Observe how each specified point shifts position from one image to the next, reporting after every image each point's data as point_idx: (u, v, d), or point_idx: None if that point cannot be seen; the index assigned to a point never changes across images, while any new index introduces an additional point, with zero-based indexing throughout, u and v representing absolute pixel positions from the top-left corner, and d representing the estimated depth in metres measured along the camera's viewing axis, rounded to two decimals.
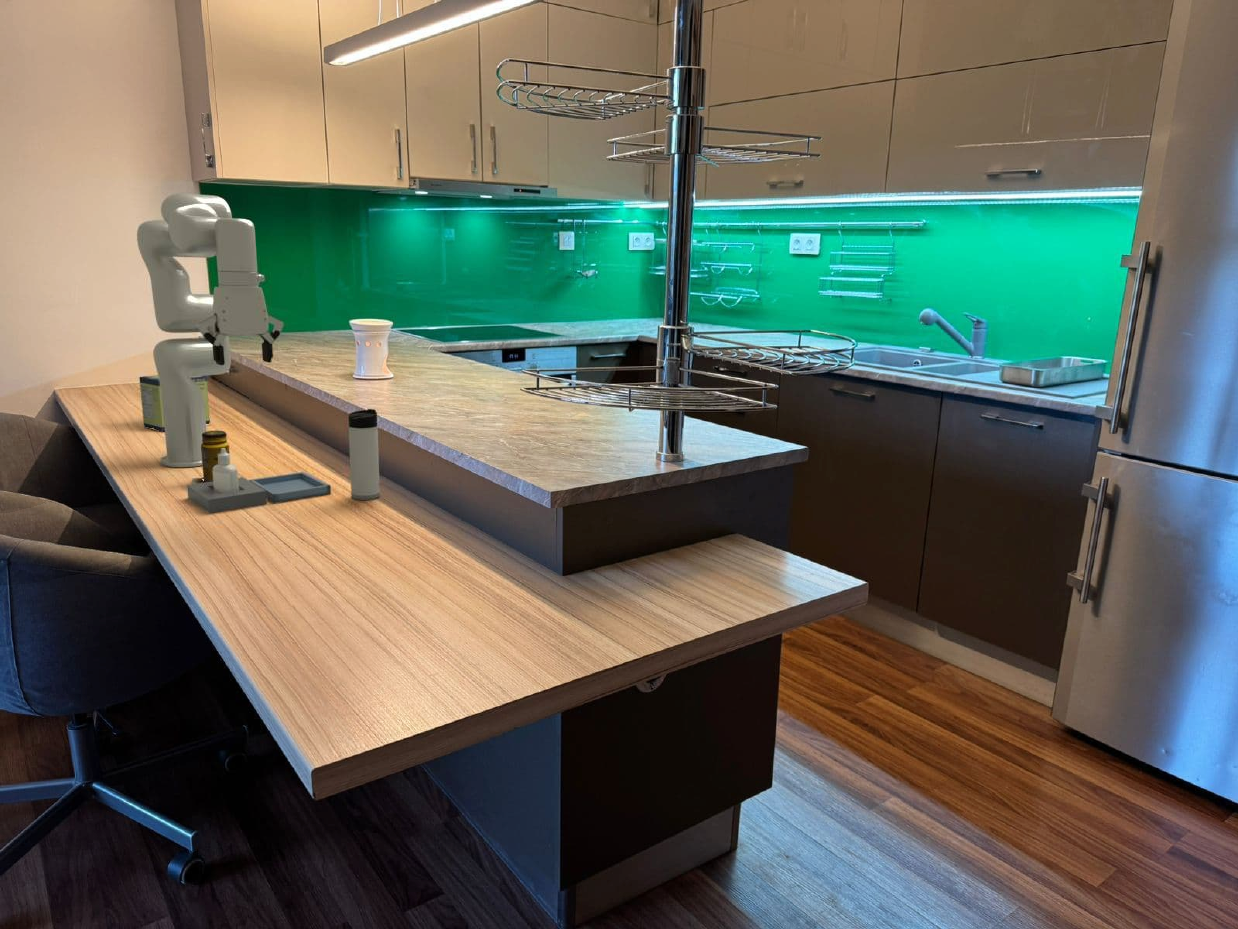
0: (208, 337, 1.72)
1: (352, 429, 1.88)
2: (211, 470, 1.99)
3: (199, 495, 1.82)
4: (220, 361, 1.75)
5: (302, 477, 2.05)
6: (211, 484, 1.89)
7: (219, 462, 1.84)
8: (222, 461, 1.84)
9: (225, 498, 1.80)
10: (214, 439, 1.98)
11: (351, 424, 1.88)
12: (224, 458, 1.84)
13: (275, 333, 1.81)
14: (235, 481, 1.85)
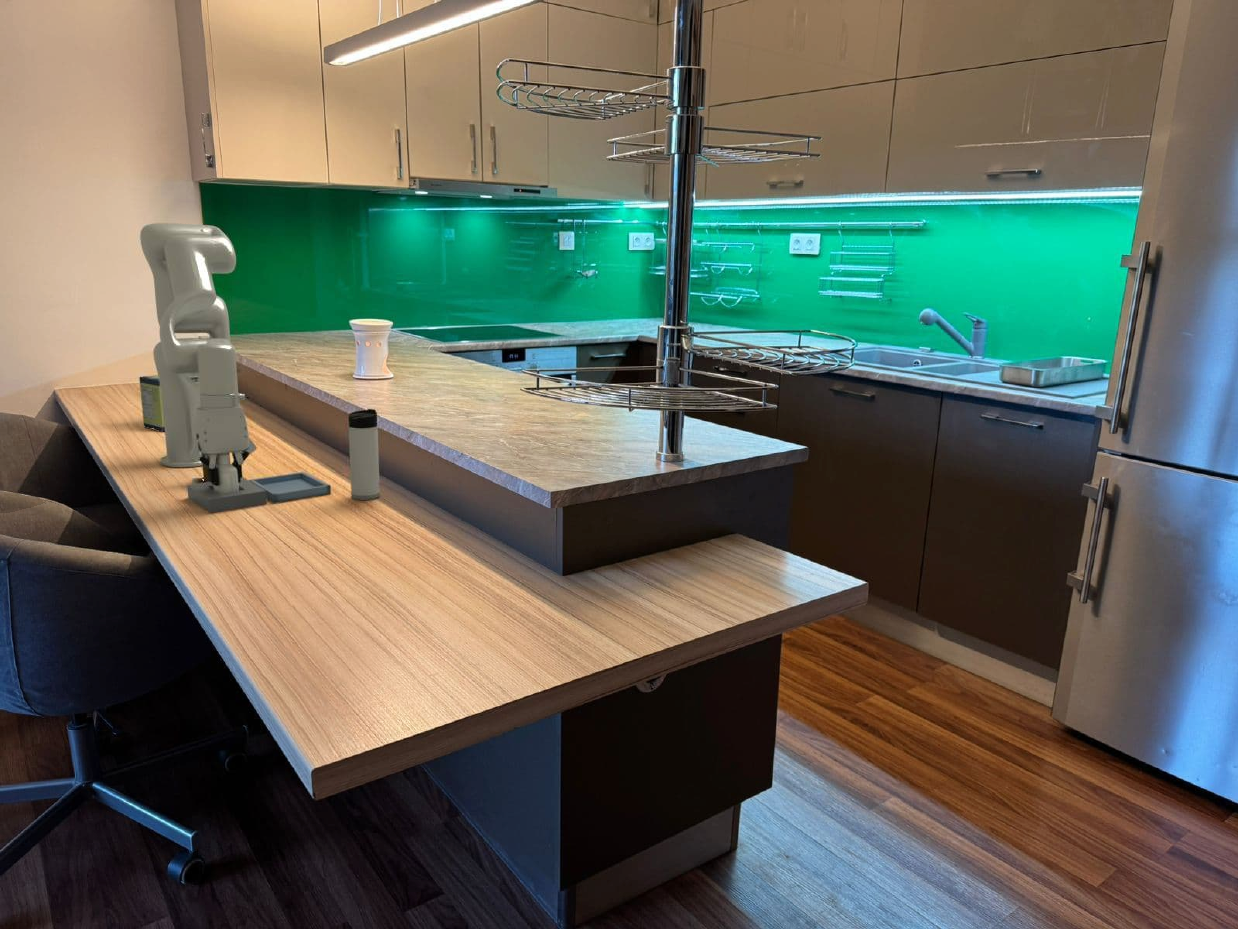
0: (203, 461, 1.81)
1: (352, 429, 1.88)
2: None
3: (199, 495, 1.82)
4: (215, 482, 1.84)
5: (302, 477, 2.05)
6: (211, 484, 1.89)
7: (219, 462, 1.84)
8: (222, 461, 1.84)
9: (225, 498, 1.80)
10: None
11: (351, 424, 1.88)
12: (224, 458, 1.84)
13: (244, 454, 1.87)
14: (235, 481, 1.85)
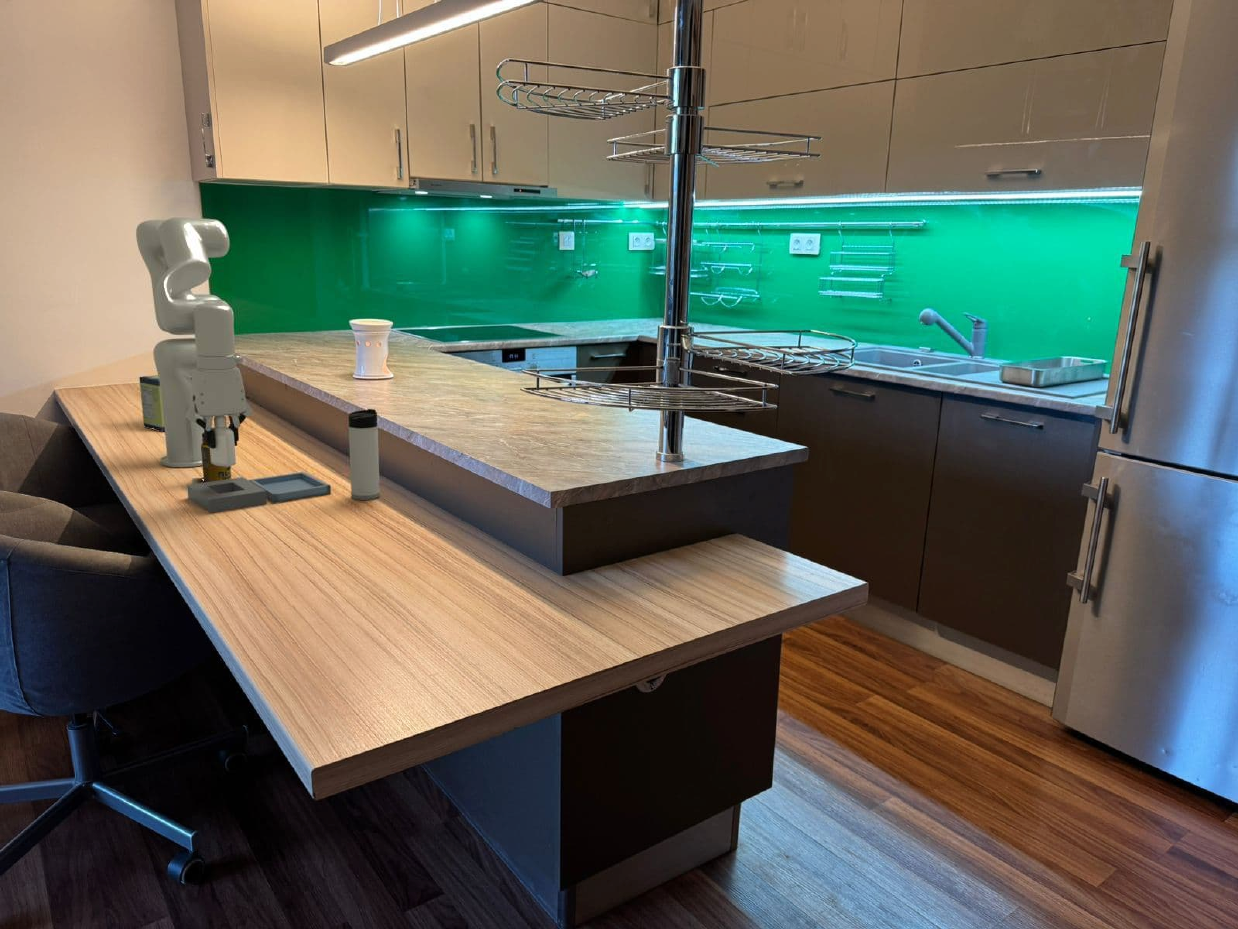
0: (200, 423, 1.80)
1: (352, 429, 1.88)
2: (211, 470, 1.99)
3: (199, 495, 1.82)
4: (211, 445, 1.82)
5: (302, 477, 2.05)
6: (211, 484, 1.89)
7: (215, 425, 1.83)
8: (218, 424, 1.82)
9: (225, 498, 1.80)
10: None
11: (351, 424, 1.88)
12: (220, 421, 1.82)
13: (241, 417, 1.85)
14: (231, 444, 1.84)
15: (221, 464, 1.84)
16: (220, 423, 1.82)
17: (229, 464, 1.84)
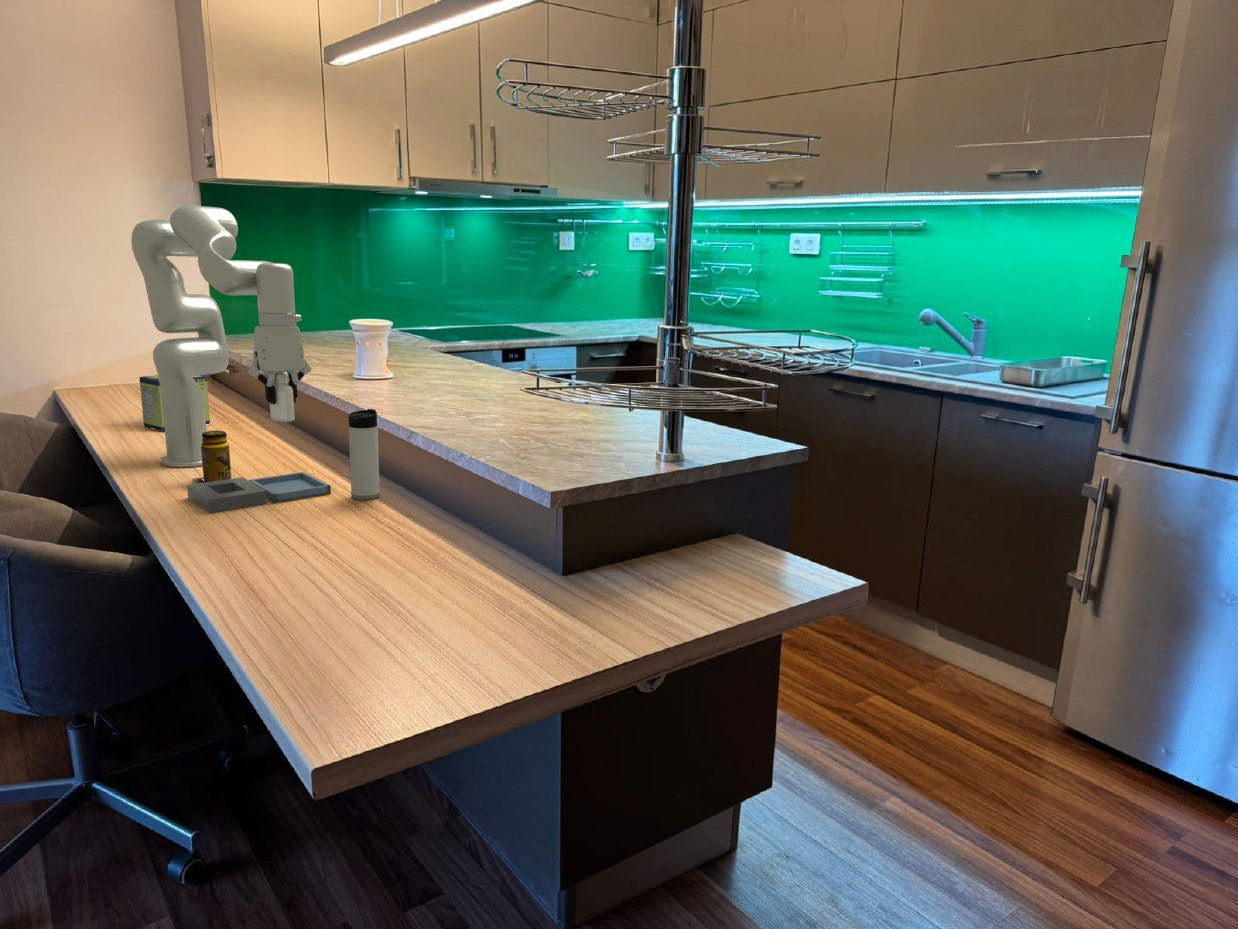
0: (261, 379, 1.86)
1: (352, 429, 1.88)
2: (211, 470, 1.99)
3: (199, 495, 1.82)
4: (272, 400, 1.89)
5: (302, 477, 2.05)
6: (211, 484, 1.89)
7: (275, 381, 1.89)
8: (278, 380, 1.89)
9: (225, 498, 1.80)
10: (214, 439, 1.98)
11: (351, 424, 1.88)
12: (281, 377, 1.89)
13: (299, 374, 1.92)
14: (290, 400, 1.90)
15: (281, 419, 1.90)
16: (280, 379, 1.89)
17: (288, 419, 1.90)
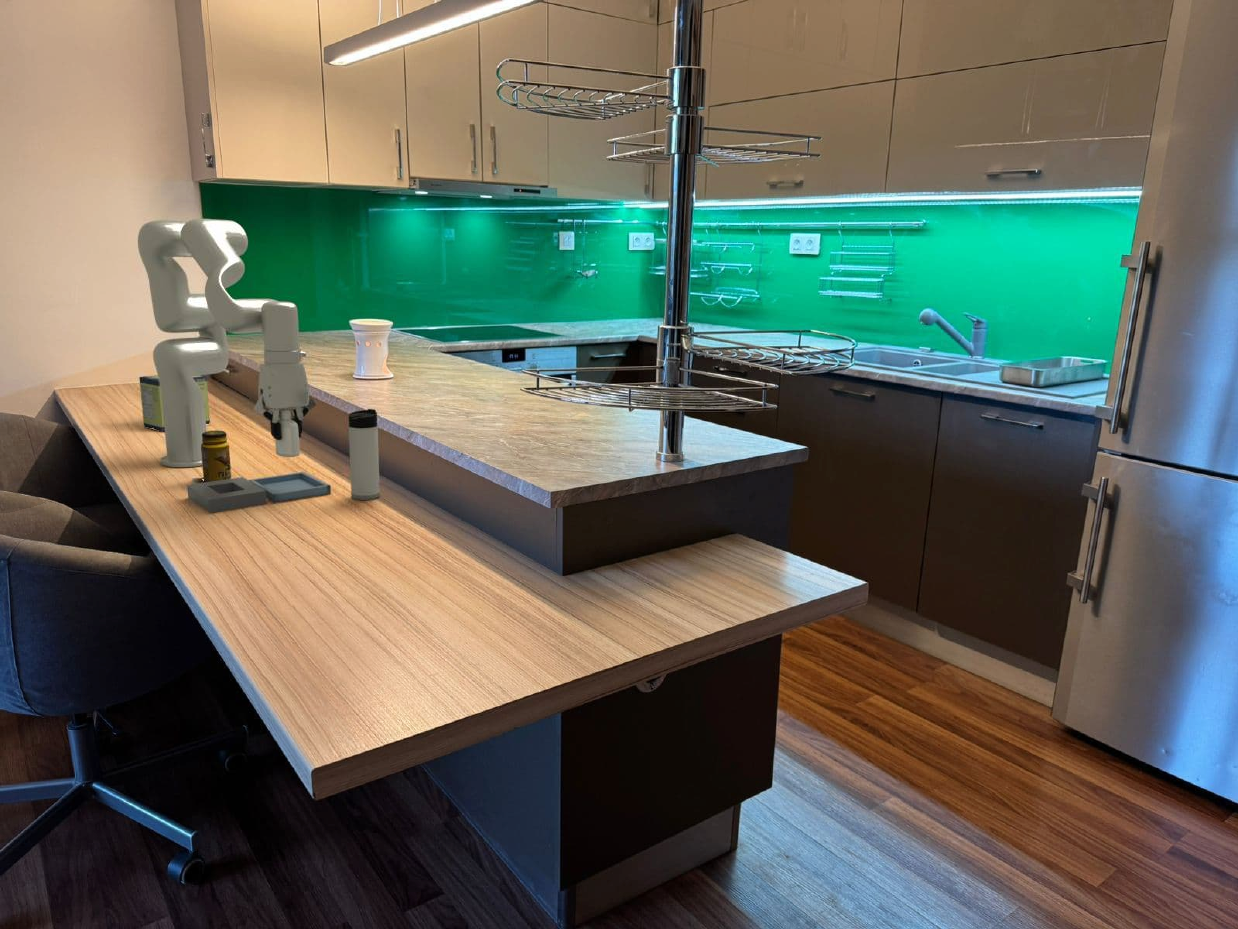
0: (267, 415, 1.89)
1: (352, 429, 1.88)
2: (211, 470, 1.99)
3: (199, 495, 1.82)
4: (277, 436, 1.91)
5: (302, 477, 2.05)
6: (211, 484, 1.89)
7: (281, 417, 1.91)
8: (283, 416, 1.91)
9: (225, 498, 1.80)
10: (214, 439, 1.98)
11: (351, 424, 1.88)
12: (286, 413, 1.91)
13: (304, 410, 1.94)
14: (296, 435, 1.92)
15: (286, 455, 1.93)
16: (285, 415, 1.91)
17: (294, 455, 1.93)
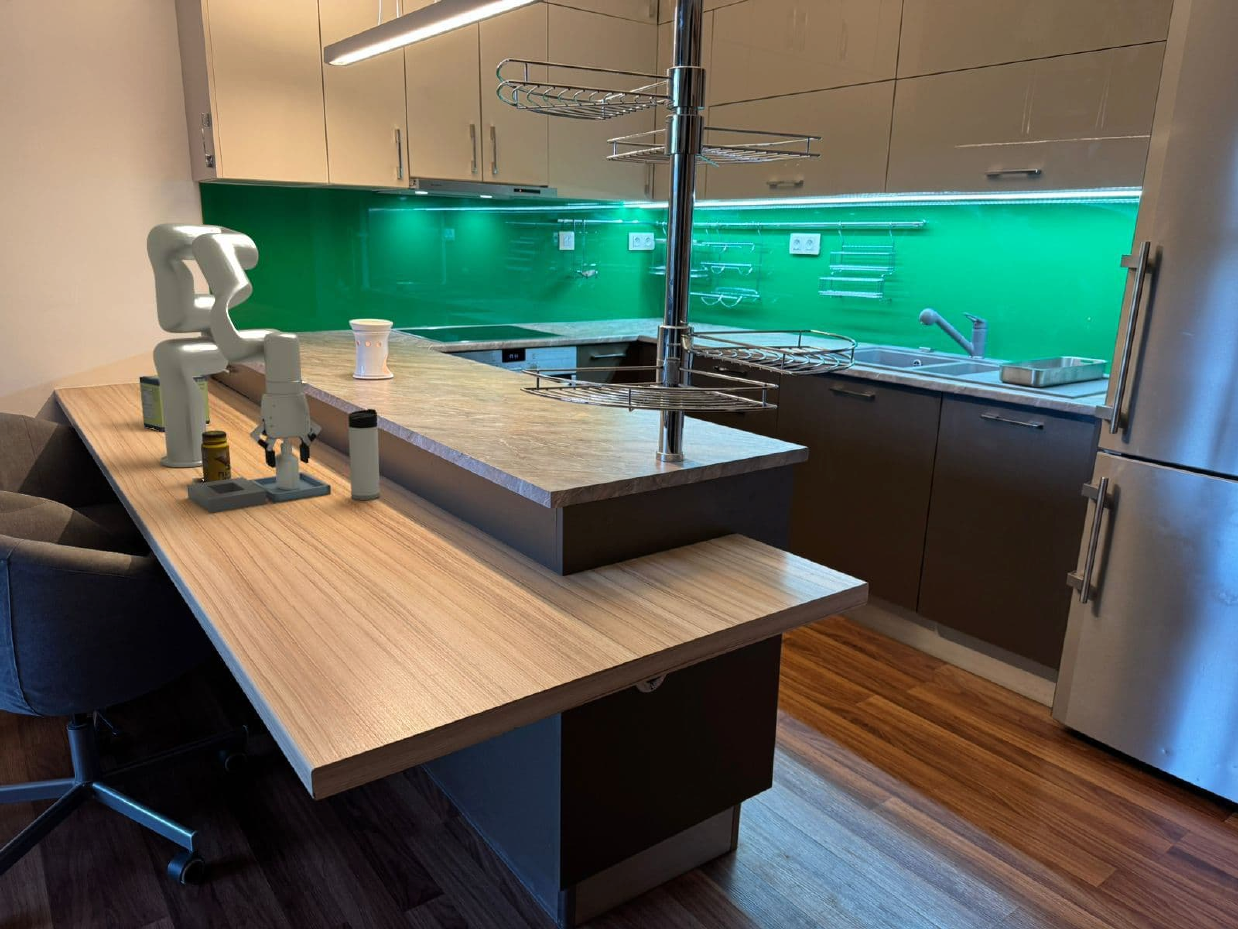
0: (262, 444, 1.89)
1: (352, 429, 1.88)
2: (211, 470, 1.99)
3: (199, 495, 1.82)
4: (272, 464, 1.92)
5: (302, 477, 2.05)
6: (211, 484, 1.89)
7: (281, 451, 1.93)
8: (284, 450, 1.93)
9: (225, 498, 1.80)
10: (214, 439, 1.98)
11: (351, 424, 1.88)
12: (287, 447, 1.93)
13: (312, 436, 1.97)
14: (296, 469, 1.94)
15: (286, 488, 1.95)
16: (286, 449, 1.93)
17: (293, 488, 1.95)
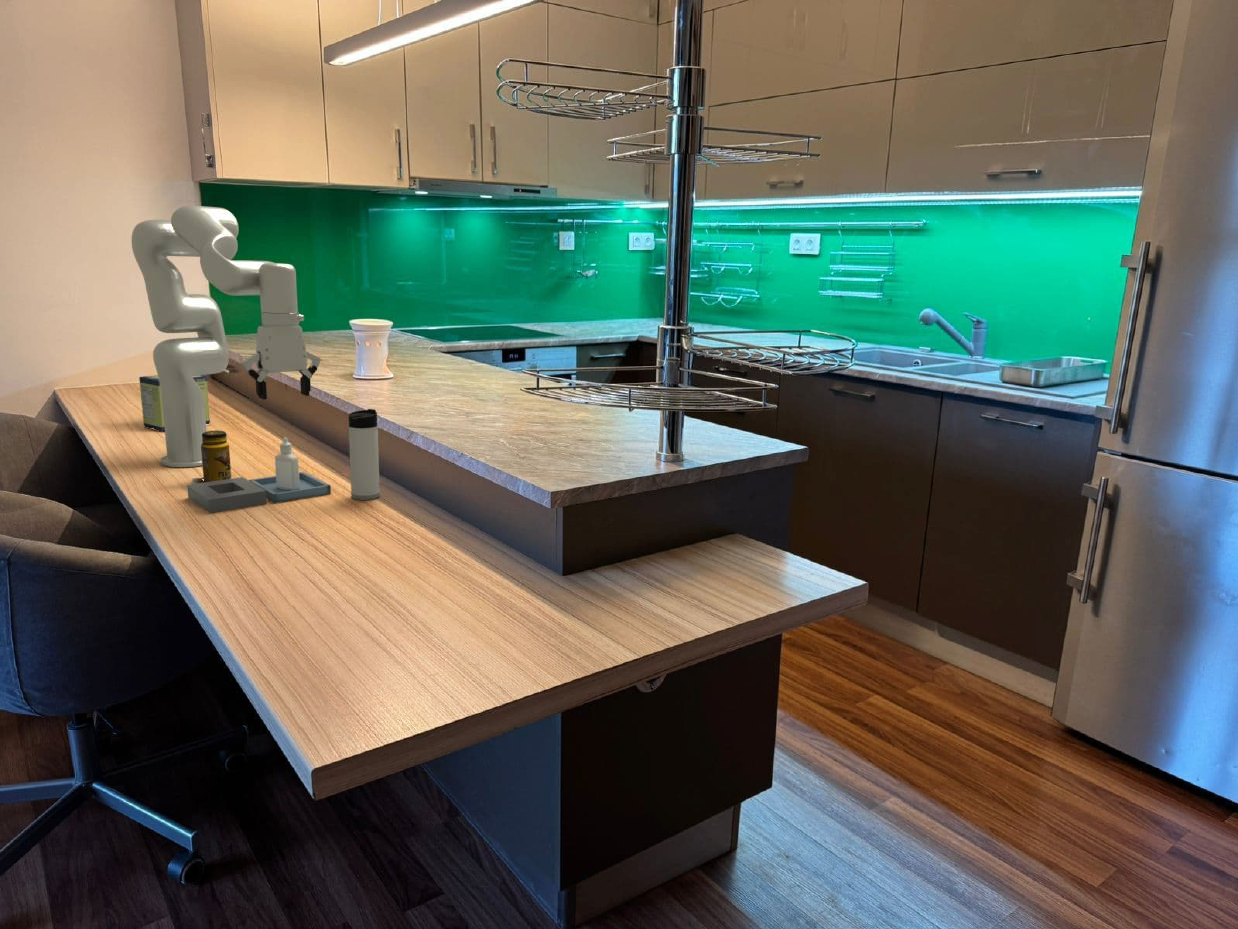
0: (252, 374, 1.85)
1: (352, 429, 1.88)
2: (211, 470, 1.99)
3: (199, 495, 1.82)
4: (263, 396, 1.87)
5: (302, 477, 2.05)
6: (211, 484, 1.89)
7: (281, 451, 1.93)
8: (284, 450, 1.93)
9: (225, 498, 1.80)
10: (214, 439, 1.98)
11: (351, 424, 1.88)
12: (286, 447, 1.93)
13: (313, 368, 1.94)
14: (296, 469, 1.94)
15: (286, 488, 1.95)
16: (286, 449, 1.93)
17: (293, 488, 1.95)
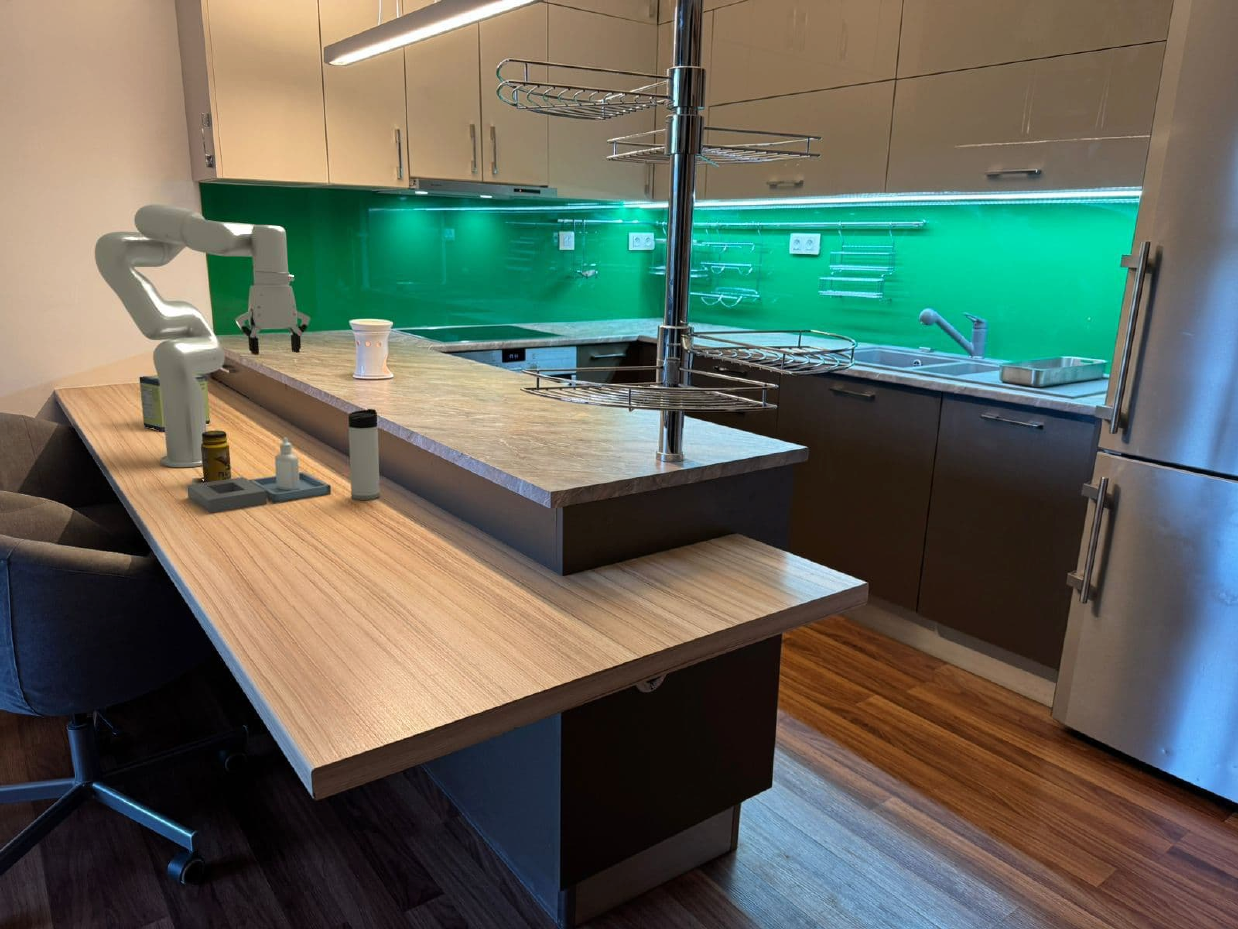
0: (245, 330, 1.95)
1: (352, 429, 1.88)
2: (211, 470, 1.99)
3: (199, 495, 1.82)
4: (255, 351, 1.98)
5: (302, 477, 2.05)
6: (211, 484, 1.89)
7: (281, 451, 1.93)
8: (284, 450, 1.93)
9: (225, 498, 1.80)
10: (214, 439, 1.98)
11: (351, 424, 1.88)
12: (286, 447, 1.93)
13: (303, 326, 2.04)
14: (296, 469, 1.94)
15: (286, 488, 1.95)
16: (286, 449, 1.93)
17: (293, 488, 1.95)
